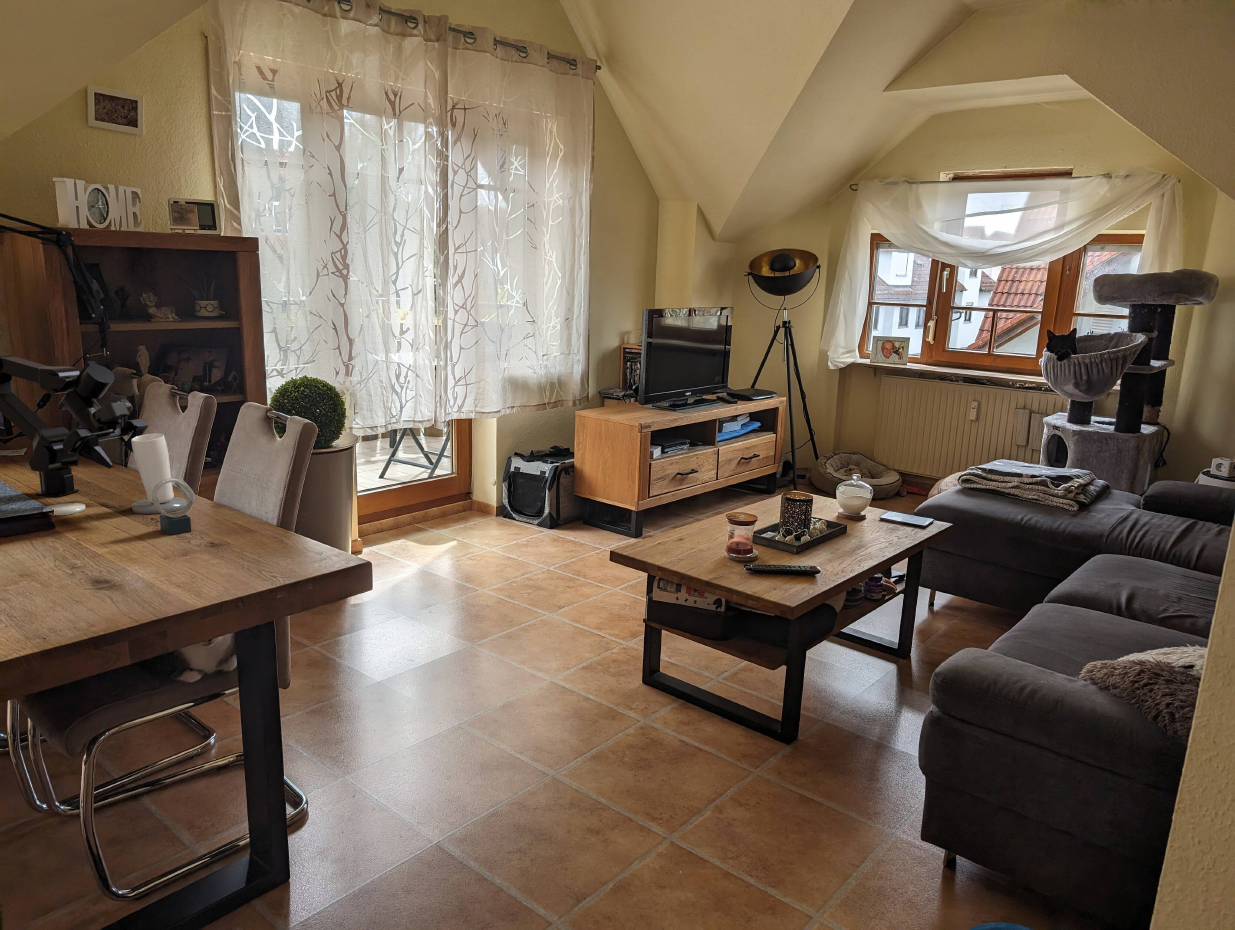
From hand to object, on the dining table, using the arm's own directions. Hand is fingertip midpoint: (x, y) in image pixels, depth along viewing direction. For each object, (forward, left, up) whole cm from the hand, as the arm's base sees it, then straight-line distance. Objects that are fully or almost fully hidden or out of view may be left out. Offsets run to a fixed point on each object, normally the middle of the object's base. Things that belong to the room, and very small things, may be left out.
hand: (128, 463), depth 198 cm
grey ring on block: (+24, -15, -10) cm, 30 cm away
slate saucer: (+8, -1, -9) cm, 12 cm away
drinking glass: (+8, 0, -8) cm, 11 cm away
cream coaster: (-9, -10, -9) cm, 16 cm away
